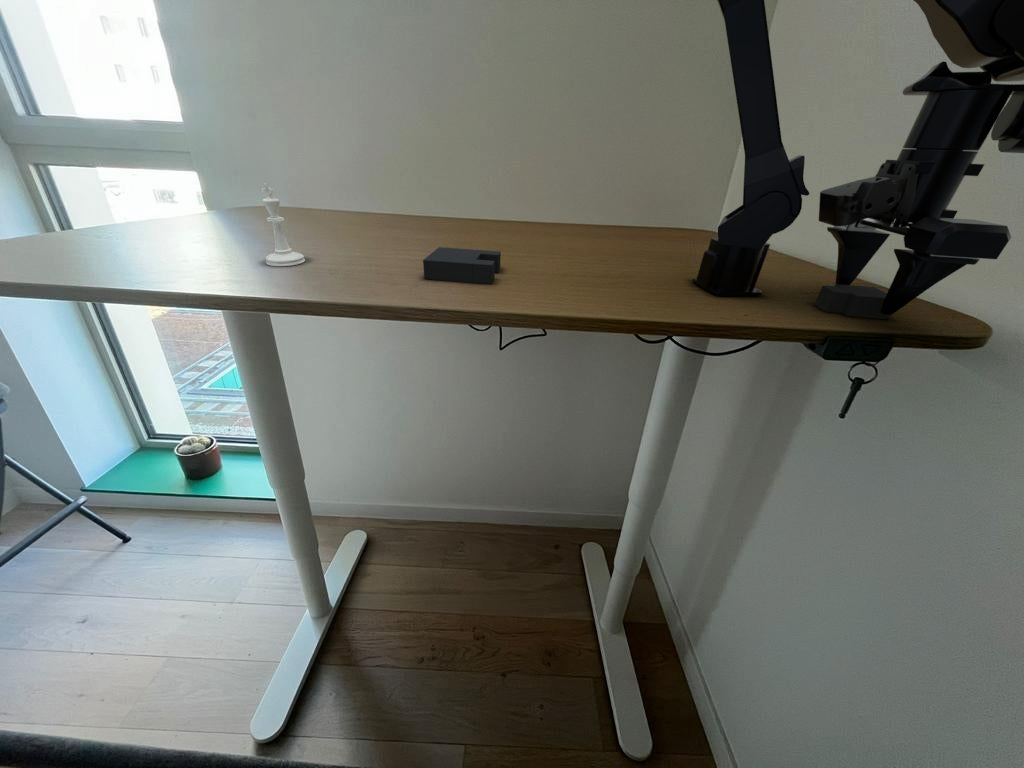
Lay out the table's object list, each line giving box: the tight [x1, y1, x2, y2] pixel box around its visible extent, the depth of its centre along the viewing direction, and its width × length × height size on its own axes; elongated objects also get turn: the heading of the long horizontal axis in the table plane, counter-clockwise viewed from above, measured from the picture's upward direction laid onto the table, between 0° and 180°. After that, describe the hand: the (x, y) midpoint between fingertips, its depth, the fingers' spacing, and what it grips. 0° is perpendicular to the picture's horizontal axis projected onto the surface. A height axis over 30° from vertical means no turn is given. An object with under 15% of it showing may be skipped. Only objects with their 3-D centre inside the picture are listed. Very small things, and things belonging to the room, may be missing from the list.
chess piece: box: [260, 182, 306, 267], centre depth 54 cm, size 5×5×10 cm
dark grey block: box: [814, 283, 891, 320], centre depth 48 cm, size 6×4×2 cm
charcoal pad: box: [422, 246, 502, 285], centre depth 54 cm, size 9×8×2 cm
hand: (861, 301), depth 48 cm, fingers open, 8 cm apart
